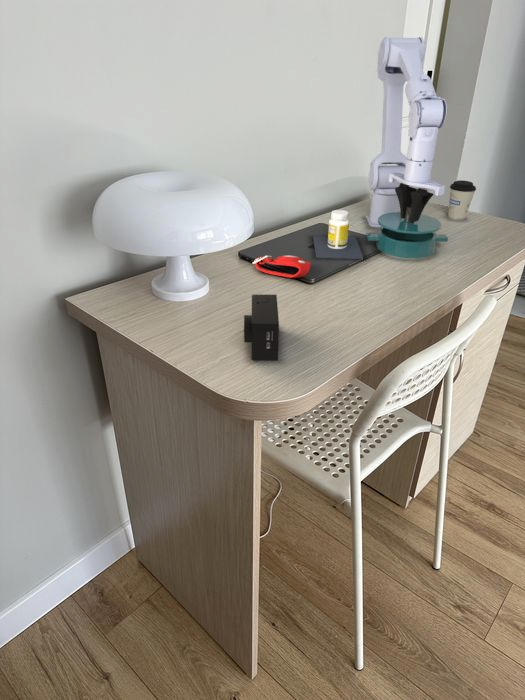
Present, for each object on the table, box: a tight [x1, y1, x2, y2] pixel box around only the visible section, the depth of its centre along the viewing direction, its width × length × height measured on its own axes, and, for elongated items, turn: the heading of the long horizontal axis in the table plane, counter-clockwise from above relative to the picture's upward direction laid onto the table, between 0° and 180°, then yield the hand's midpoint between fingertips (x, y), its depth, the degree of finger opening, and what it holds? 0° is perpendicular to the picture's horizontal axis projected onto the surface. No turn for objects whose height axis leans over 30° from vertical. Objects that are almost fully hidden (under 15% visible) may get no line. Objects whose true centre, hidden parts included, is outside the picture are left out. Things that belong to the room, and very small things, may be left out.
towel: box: [312, 235, 364, 260], centre depth 125 cm, size 14×11×1 cm
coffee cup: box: [447, 179, 477, 220], centre depth 142 cm, size 7×7×10 cm
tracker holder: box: [252, 254, 312, 279], centre depth 111 cm, size 12×4×10 cm
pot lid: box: [378, 205, 442, 234], centre depth 120 cm, size 15×15×5 cm
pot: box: [365, 227, 449, 259], centre depth 123 cm, size 14×19×4 cm
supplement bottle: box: [327, 209, 350, 249], centre depth 122 cm, size 5×5×8 cm
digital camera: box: [243, 294, 280, 362], centre depth 85 cm, size 10×5×7 cm, turn 1°
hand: (409, 219), depth 120 cm, fingers closed on pot lid, 2 cm apart
